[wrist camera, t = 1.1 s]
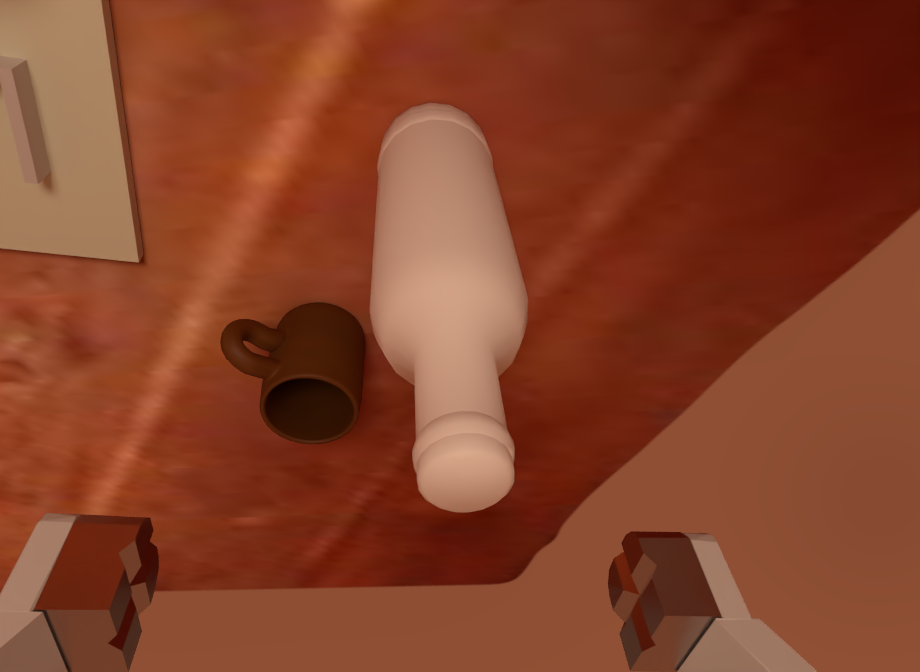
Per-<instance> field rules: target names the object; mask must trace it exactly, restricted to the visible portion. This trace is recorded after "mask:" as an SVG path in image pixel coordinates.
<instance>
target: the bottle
mask: <svg viewBox="0 0 920 672" xmlns="http://www.w3.org/2000/svg"><path fill="white" fill-rule="evenodd" d="M377 169H378V188H377V204H376V219H375V235H374V251H373V266H372V282H371V298H370V316H371V322H372V328H373V333H374V336H375V338H376V340H377V342H378V344H379V346H380V348H381V350H382V351H383V353H384V355H385V356H386V358H387V360H388V361H389V363H390V364H391V366H392V367H393V369H394V370H395V372H396V373H397V374H398V375H400V376H401V377H403V378H404V379H405V380H407V381H408V382H410V383H411V384H412V385H415V418H416V441H415V444H414V446H413V449H412V458H413V465H414V470H415V471H416V473H417V483H418V490H419V492H420V493H421V494H422V496H423V497H424V498H425V500H427V501H428V502H430V503H432V504H433V505H435V506H437V507H439V508H441V509H444V510H448V511H452V512H473V511H478V510H483V509H485V508H487V507H489V506H491V505H493V504H495V503H497V502H498V501H499V500H501V499H502V498H503V497H504V496H505V495H506V494H508V493H509V491H510V489H511V487H512V485H513V483H514V466H513V463H514V460H515V448H514V442H513V440H512V438H511V436H510V434H509V432H508V431H507V426H506V420H505V414H504V409H503V403H502V397H501V391H500V386H499V380H498V377H499V376H500V375H501V374H502V373H503V372H504V371H505V370H506V369H507V368H508V367H509V366H510V365H511V364H512V362H513V360H514V358H515V356H516V354H517V352H518V349H519V347H520V345H521V342H522V339H523V336H524V333H525V329H526V325H527V320H528V296H527V293H526V289H525V285H524V281H523V278H522V274H521V270H520V266H519V263H518V259H517V255H516V251H515V248H514V244H513V240H512V236H511V233H510V229H509V225H508V221H507V218H506V214H505V210H504V206H503V203H502V199H501V195H500V191H499V187H498V184H497V180H496V176H495V172H494V169H493V160H492V155H491V152H490V150H489V147H488V145H487V143H486V140H485V138H484V135H483V133H482V131H481V128H480V127H479V126H478V124H477V123H476V122H475V121H474V120H473V119H472V118H471V117H470V116H469V115H468V114H467V113H465V112H463V111H461V110H459V109H457V108H455V107H453V106H451V105H447V104H437V103H427V104H423V105H419V106H415V107H412V108H410V109H408V110H407V111H405V112H404V113H402V114H401V115H399V116H398V117H397V118H395V119H394V121H393V122H392V124H391V125H390V126H389V128H388V129H387V131H386V132H385V134H384V137H383V141H382V145H381V149H380V154H379V158H378V163H377Z"/></svg>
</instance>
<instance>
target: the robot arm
mask: <svg viewBox="0 0 920 672" xmlns="http://www.w3.org/2000/svg"><path fill="white" fill-rule="evenodd" d="M152 533H153V527H152V523H151V519H150V518H147V517H125V516H103V515H83V514H59V513H46V514H45V515H44V516H43V518H42V519H41V520H40V521H39V522H38V523H37V524H36V526H35V528H34V530H33V532H32V534H31V536H30V538H29V540H28V542H27V544H26V545H25V547H24V549H23V551H22V553H21V555H20V557H19V559H18V561H17V563H16V565H15V567H14V569H13V570H12V572H11V574H10V576H9V578H8V580H7V582H6V584H5V586H4V588H3V590H2V592H1V593H0V672H129V669H130V666H131V663H132V660H133V657H134V654H135V651H136V648H137V645H138V642H139V638H140V635H141V632H142V630H141V626H140V621H139V617H138V615H139V614H140V613H141V612H143V611H144V610H145V609H146V608H147V607H148V606H149V605H150V604H151V601H152V597H153V594H154V591H155V587H156V582H157V576H158V570H159V555H158V550H157V547H156V546H155V545H154V544H152V543H151V542H150V539H151V536H152ZM622 546H623V550H624V552H623V553H621V554H620V555H618V556H617V557H615V558H614V560H613V562H612V564H611V567H610V569H609V579H608V588H609V596H610V599H611V604H612V607H613V610H614V611H615V612H616V613H617V614H618V616H619V617H620V618H621V619H622V620H623V621H624V625H623V627H622V630H621V632H620V637H621V640H622V644H623V647H624V651H625V655H626V658H627V661H628V665H629V669H630V671H651V672H652V671H653V672H818V671H816V670H815V669H814V668H813V667H812V666H811V665H810V664H809V663H808V662H806V661H805V660H804V659H803V658H802V657H801V656H800V655H799V654H798V653H797V652H796V651H794V650H793V649H792V648H791V647H790V646H789V645H788V644H787V643H786V642H785V641H783V640H782V639H781V638H780V637H779V636H778V635H777V634H776V633H775V632H774V631H772V630H771V629H770V628H769V627H768V626H767V625H766V624H765V623H764V622H763V621H761V620H760V619H755V618H751V616H750V613H749V611H748V609H747V607H746V605H745V602H744V600H743V598H742V596H741V594H740V591H739V589H738V587H737V585H736V583H735V581H734V578H733V576H732V574H731V572H730V570H729V567H728V565H727V563H726V561H725V559H724V556H723V554H722V552H721V550H720V548H719V545H718V543H717V541H716V539H715V538H714V537H713V536H712V535H711V534H706V533H681V532H630V533H628V534H626V536H625V537H624V539H623V541H622Z"/></svg>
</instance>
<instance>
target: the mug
mask: <svg viewBox="0 0 920 672" xmlns="http://www.w3.org/2000/svg"><path fill="white" fill-rule="evenodd" d="M243 341H248V342H250V343H252V344H254V345H255V346H257V347H259V348H261V349H263V350H266V351H270V355H269V358H268V357H265V356H262V355H258V354H255V353H253V352H251V351H250V350H249V349H247V347H246V346H245V345H244V343H243ZM220 343H221V348H222V352H223V353H224V355H225V357H226V359H227V360H228V361H229V362H230V363H231V364H232V365H233V366H234V367H236V368H237V369H238V370H240V371H241V372H243V373H245V374H248V375H251V376H255V377H258V378H262V379H263V383H262V389H261V398H260V412H261V416H262V418H263V420H264V422H265V423H266V424H267V426H268V427H269V428H270V429H271V430H272V431H274V432H275V433H276V434H278V435H279V436H281V437H283V438H285V439H288V440H290V441H294V442H297V443H303V444H322V443H327V442H331V441H334V440H336V439H339V438H341V437H342V436H344V435H345V434H347V433H348V432H349V431H350V430H351V429H352V427H353V426H354V425H355V423H356V421H357V419H358V415H359V409H360V404H361V398H362V386H363V370H364V351H365V339H364V334H363V330H362V328H361V326H360V324H359V323H358V321H357V320H356V319H355V318H354V317H353V316H352V315H351V314H350V313H349V312H347V311H346V310H344V309H342V308H340V307H338V306H335V305H332V304H327V303H308V304H304V305H301V306H298V307H296V308H294V309H292V310H291V311H289V312H288V313H287V314H286V315H285V316H284V317H283V318H282V320H281V321H280V323H279V324H278V327H277V329H270V328H268V327H267V326H265V325H263V324H261V323H259V322H257V321H254V320H250V319H239V320H236V321H233V322H231V323H230V324H229V325H227V326H226V328H225V329H224V331H223V332H222V335H221V342H220Z"/></svg>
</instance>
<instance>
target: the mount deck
mask: <svg viewBox="0 0 920 672" xmlns="http://www.w3.org/2000/svg"><path fill="white" fill-rule="evenodd" d="M0 248H3V249H12V250H22V251H32V252H41V253H51V254H61V255H71V256H80V257H90V258H100V259H110V260H119V261H129V262H139V261H140V260H141V258H142V256H143V255H144V253H143V246H142V238H141V231H140V224H139V216H138V209H137V202H136V195H135V187H134V180H133V173H132V166H131V158H130V151H129V144H128V136H127V129H126V122H125V115H124V107H123V100H122V93H121V86H120V78H119V71H118V64H117V56H116V49H115V42H114V35H113V27H112V20H111V13H110V6H109V0H0Z"/></svg>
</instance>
